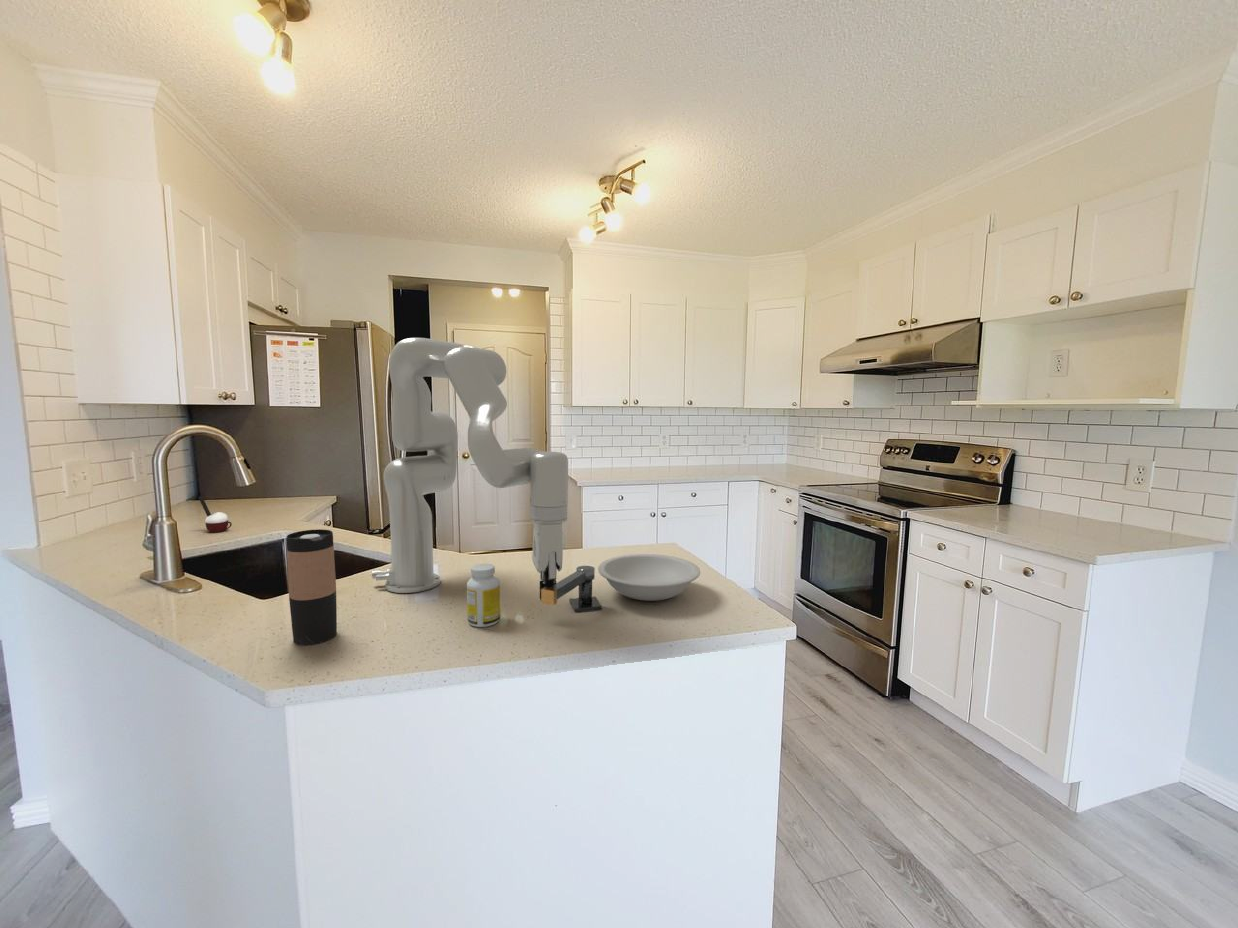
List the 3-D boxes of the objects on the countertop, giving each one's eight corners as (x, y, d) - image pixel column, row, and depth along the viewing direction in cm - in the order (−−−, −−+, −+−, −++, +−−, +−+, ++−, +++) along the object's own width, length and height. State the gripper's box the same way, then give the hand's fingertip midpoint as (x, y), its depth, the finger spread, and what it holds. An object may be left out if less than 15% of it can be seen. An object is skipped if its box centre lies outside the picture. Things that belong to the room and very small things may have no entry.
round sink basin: (719, 594, 123) (720, 567, 122) (655, 624, 105) (656, 593, 105) (642, 572, 139) (643, 548, 138) (576, 594, 122) (576, 567, 121)
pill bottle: (506, 618, 108) (505, 564, 106) (488, 630, 102) (487, 573, 100) (479, 613, 110) (478, 560, 108) (460, 625, 104) (459, 569, 102)
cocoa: (235, 531, 179) (235, 497, 178) (216, 535, 173) (216, 500, 172) (215, 528, 182) (215, 494, 181) (196, 531, 176) (196, 497, 175)
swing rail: (581, 575, 117) (581, 563, 116) (597, 577, 115) (597, 565, 115) (538, 602, 100) (538, 588, 100) (556, 605, 99) (556, 591, 98)
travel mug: (304, 628, 101) (299, 529, 99) (345, 627, 102) (340, 528, 100) (283, 646, 94) (276, 539, 92) (326, 645, 94) (321, 538, 92)
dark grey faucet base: (574, 612, 111) (574, 585, 110) (569, 602, 117) (569, 576, 116) (601, 609, 113) (601, 582, 112) (595, 599, 118) (595, 574, 118)
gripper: (525, 506, 110) (525, 588, 112) (535, 521, 96) (534, 616, 98) (560, 505, 112) (559, 586, 115) (574, 520, 98) (573, 612, 100)
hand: (547, 599), depth 106 cm, fingers closed
